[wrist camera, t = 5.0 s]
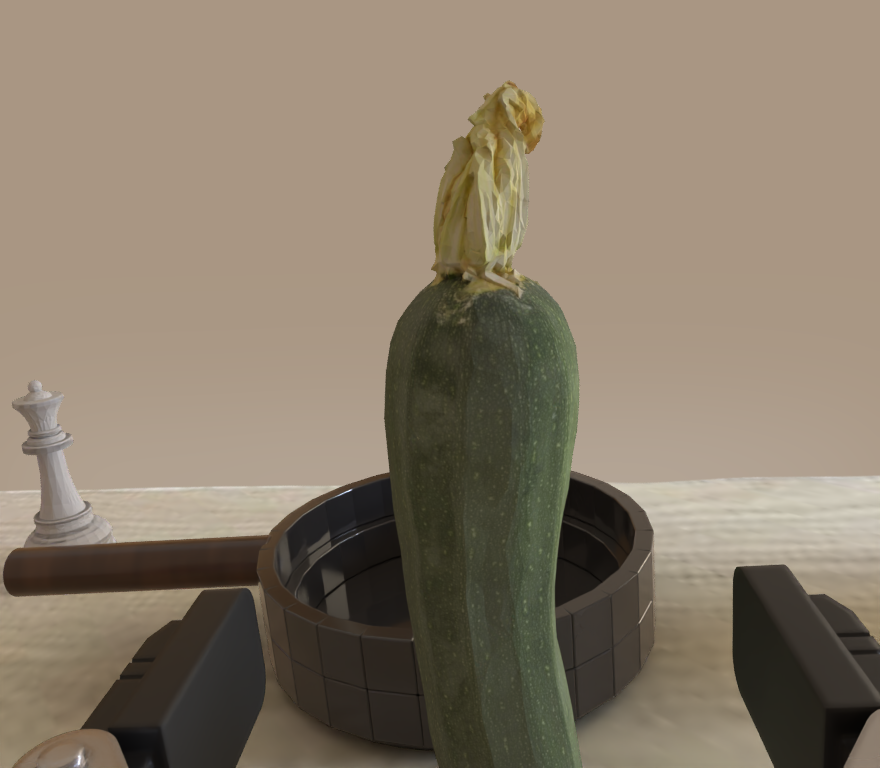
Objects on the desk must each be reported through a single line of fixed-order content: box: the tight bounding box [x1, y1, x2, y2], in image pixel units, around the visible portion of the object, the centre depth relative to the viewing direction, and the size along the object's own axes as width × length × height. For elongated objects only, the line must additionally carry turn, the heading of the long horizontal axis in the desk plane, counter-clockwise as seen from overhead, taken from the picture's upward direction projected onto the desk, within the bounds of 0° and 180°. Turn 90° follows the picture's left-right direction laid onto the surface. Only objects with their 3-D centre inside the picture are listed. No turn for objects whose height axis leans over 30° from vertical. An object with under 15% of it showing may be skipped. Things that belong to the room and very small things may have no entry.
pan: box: [256, 471, 656, 750], centre depth 33 cm, size 15×15×4 cm
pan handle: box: [3, 535, 271, 597], centre depth 33 cm, size 11×2×2 cm, turn 86°
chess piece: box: [12, 380, 116, 548], centre depth 41 cm, size 4×4×10 cm
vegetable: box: [384, 81, 582, 768], centre depth 19 cm, size 4×4×20 cm
